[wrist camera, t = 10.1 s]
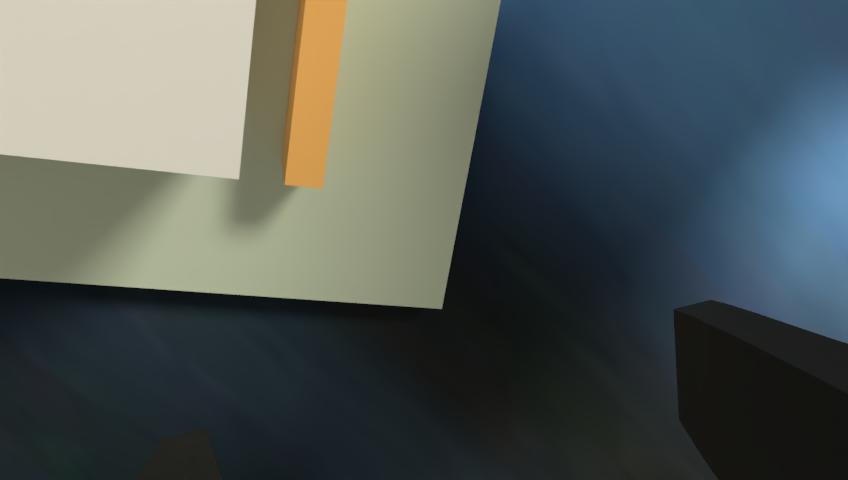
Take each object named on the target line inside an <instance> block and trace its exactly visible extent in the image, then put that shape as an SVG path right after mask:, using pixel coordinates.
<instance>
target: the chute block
mask: <svg viewBox="0 0 848 480" xmlns="http://www.w3.org/2000/svg"><path fill="white" fill-rule="evenodd" d="M255 7H256V0H0V154H2V155H12V156H21V157H31V158H40V159H50V160H59V161H69V162H78V163H88V164H97V165H107V166H116V167H126V168H135V169H145V170H154V171H164V172H173V173H183V174H192V175H202V176H211V177H221V178H230V179H239V173H240V163H241V152H242V142H243V132H244V121H245V111H246V100H247V90H248V80H249V69H250V59H251V48H252V38H253V27H254V17H255Z"/></svg>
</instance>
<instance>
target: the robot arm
mask: <svg viewBox="0 0 848 480" xmlns="http://www.w3.org/2000/svg"><path fill="white" fill-rule="evenodd" d="M674 327H675V347H676V368H677V388H678V409H679V420H680V422H681V423H682V425H683V426H684V428H685V430H686V431H687V433H688V435H689V436H690V438H691V439H692V441H693V443H694V444H695V446H696V448H697V449H698V451H699V452H700V454H701V455H702V457H703V458H704V460H705V461H706V463H707V464H708V466H709V467H710V469H711V470H712V472H713V473H714V474H715V475H716V477H717V478H718V479H719V480H848V344H847V343H844V342H840V341H837V340H834V339H831V338H828V337H825V336H822V335H819V334H816V333H813V332H810V331H807V330H804V329H801V328H798V327H795V326H792V325H789V324H786V323H783V322H781V321H778V320H775V319H772V318H769V317H766V316H763V315H760V314H757V313H754V312H751V311H748V310H745V309H742V308H738V307H735V306H732V305H728V304H725V303H721V302H717V301H713V300H709V301H705V302H701V303H697V304H693V305H689V306H685V307H681V308H677V309H674ZM135 480H222V478H221V475H220V472H219V469H218V466H217V463H216V460H215V457H214V454H213V451H212V448H211V444H210V441H209V438H208V435H207V432H206V429H201V430H197V431H193V432H189V433H186V434H182V435H178V436H174V437H170V438H166V439H162V441H161V442H160V444H159V445H158V447H157V448H156V449H155V451H154V452H153V454H152V455H151V457H150V458H149V460H148V461H147V463H146V464H145V466H144V467H143V469H142V470H141V472H140V473H139V475H138V476H137V478H136V479H135Z"/></svg>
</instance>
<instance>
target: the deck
mask: <svg viewBox="0 0 848 480" xmlns="http://www.w3.org/2000/svg"><path fill="white" fill-rule="evenodd" d="M500 3H501V0H256V7H255V17H254V27H253V38H252V48H251V59H250V69H249V80H248V90H247V100H246V111H245V121H244V132H243V142H242V152H241V163H240V173H239V179H230V178H221V177H211V176H202V175H192V174H183V173H173V172H164V171H154V170H145V169H135V168H126V167H116V166H107V165H97V164H88V163H78V162H69V161H59V160H50V159H40V158H31V157H21V156H12V155H2V154H0V278H4V279H19V280H33V281H47V282H62V283H76V284H90V285H105V286H119V287H133V288H148V289H162V290H176V291H191V292H205V293H219V294H234V295H248V296H262V297H277V298H291V299H305V300H320V301H334V302H348V303H363V304H377V305H391V306H406V307H420V308H434V309H442V305H443V300H444V295H445V290H446V284H447V279H448V274H449V269H450V264H451V258H452V253H453V248H454V243H455V238H456V232H457V227H458V222H459V217H460V212H461V206H462V201H463V196H464V191H465V185H466V180H467V175H468V170H469V165H470V159H471V154H472V149H473V144H474V139H475V133H476V128H477V123H478V118H479V113H480V107H481V102H482V97H483V92H484V86H485V81H486V76H487V71H488V66H489V60H490V55H491V50H492V45H493V40H494V34H495V29H496V24H497V19H498V14H499V8H500Z"/></svg>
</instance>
